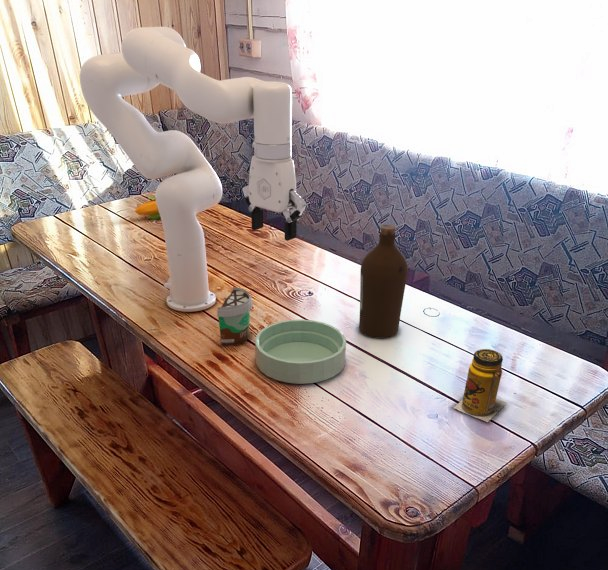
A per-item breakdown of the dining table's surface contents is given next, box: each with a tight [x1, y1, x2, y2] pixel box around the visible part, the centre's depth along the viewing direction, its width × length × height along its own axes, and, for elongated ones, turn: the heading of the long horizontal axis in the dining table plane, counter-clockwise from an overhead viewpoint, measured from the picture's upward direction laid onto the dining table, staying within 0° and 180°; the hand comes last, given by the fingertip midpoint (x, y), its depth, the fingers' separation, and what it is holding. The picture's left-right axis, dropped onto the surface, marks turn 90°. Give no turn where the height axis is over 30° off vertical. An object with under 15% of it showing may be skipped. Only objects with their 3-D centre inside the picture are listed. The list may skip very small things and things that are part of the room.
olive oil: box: [358, 224, 409, 339], centre depth 136 cm, size 11×11×25 cm
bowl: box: [254, 319, 347, 385], centre depth 128 cm, size 19×19×6 cm
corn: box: [134, 195, 161, 220], centre depth 211 cm, size 7×8×20 cm
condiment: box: [453, 348, 507, 423], centre depth 113 cm, size 7×8×12 cm
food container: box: [216, 286, 254, 347], centre depth 136 cm, size 12×6×10 cm, turn 168°
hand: (273, 233), depth 130 cm, fingers open, 9 cm apart
